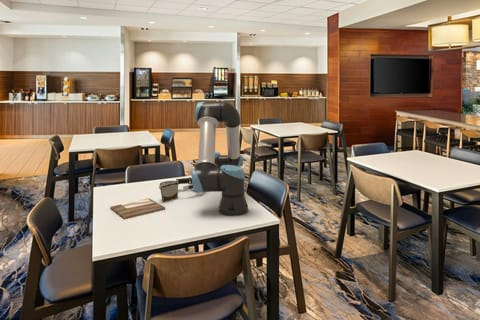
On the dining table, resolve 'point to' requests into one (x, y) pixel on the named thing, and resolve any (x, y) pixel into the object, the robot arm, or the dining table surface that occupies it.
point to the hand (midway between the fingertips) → (176, 186)
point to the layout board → (137, 208)
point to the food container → (169, 190)
